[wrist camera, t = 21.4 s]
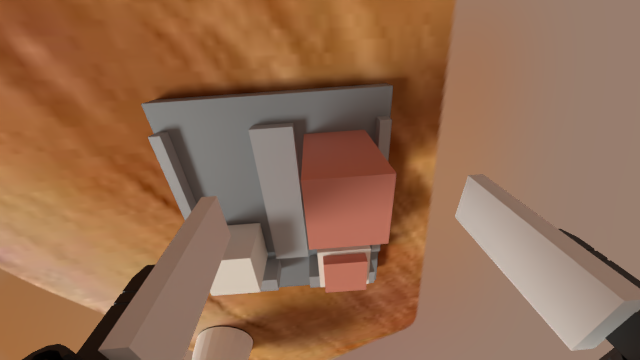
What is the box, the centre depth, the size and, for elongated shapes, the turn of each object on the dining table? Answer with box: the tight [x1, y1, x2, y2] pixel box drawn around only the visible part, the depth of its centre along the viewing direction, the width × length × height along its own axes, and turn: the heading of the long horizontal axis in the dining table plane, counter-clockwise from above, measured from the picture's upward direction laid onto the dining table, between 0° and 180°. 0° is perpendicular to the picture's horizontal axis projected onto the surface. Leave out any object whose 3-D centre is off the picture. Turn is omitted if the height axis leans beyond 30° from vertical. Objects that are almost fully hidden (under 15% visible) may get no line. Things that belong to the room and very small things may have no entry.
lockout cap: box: [301, 130, 397, 250], centre depth 15 cm, size 4×4×7 cm
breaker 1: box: [210, 223, 268, 296], centre depth 20 cm, size 4×4×4 cm
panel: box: [141, 83, 393, 292], centre depth 20 cm, size 20×17×4 cm
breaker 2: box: [317, 245, 371, 293], centre depth 19 cm, size 4×4×5 cm
